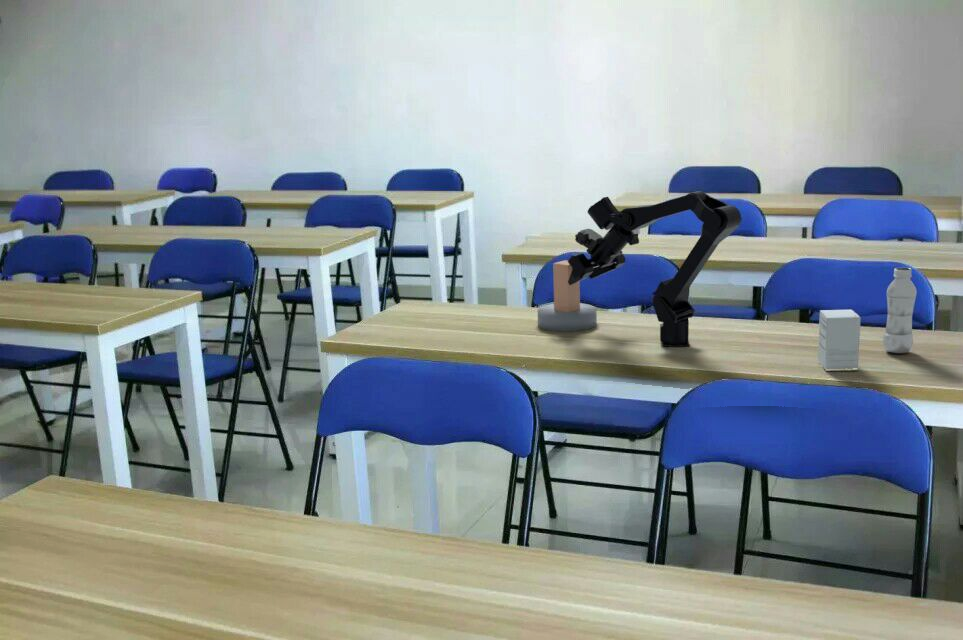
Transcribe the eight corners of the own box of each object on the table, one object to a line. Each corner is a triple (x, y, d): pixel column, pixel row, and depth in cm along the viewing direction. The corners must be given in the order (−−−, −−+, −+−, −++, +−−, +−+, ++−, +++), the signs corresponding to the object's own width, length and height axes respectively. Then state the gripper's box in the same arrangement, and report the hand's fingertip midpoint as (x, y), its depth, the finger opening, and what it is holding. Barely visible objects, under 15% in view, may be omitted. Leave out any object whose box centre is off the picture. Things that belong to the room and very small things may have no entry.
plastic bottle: (875, 350, 238) (881, 268, 233) (898, 347, 240) (904, 265, 235) (895, 357, 232) (901, 273, 227) (918, 353, 234) (924, 269, 229)
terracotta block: (580, 309, 273) (579, 262, 270) (568, 312, 269) (567, 265, 266) (565, 306, 276) (564, 260, 273) (554, 310, 273) (553, 263, 270)
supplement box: (849, 362, 230) (852, 308, 227) (858, 371, 223) (861, 316, 220) (816, 362, 231) (819, 309, 227) (824, 372, 223) (826, 317, 220)
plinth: (597, 316, 280) (597, 302, 279) (596, 331, 265) (595, 316, 264) (540, 316, 282) (539, 303, 281) (535, 331, 267) (535, 316, 266)
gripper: (615, 214, 267) (583, 252, 277) (572, 224, 253) (540, 263, 263) (640, 246, 263) (607, 283, 273) (598, 257, 250) (564, 296, 260)
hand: (579, 280), depth 268 cm, fingers open, 9 cm apart
